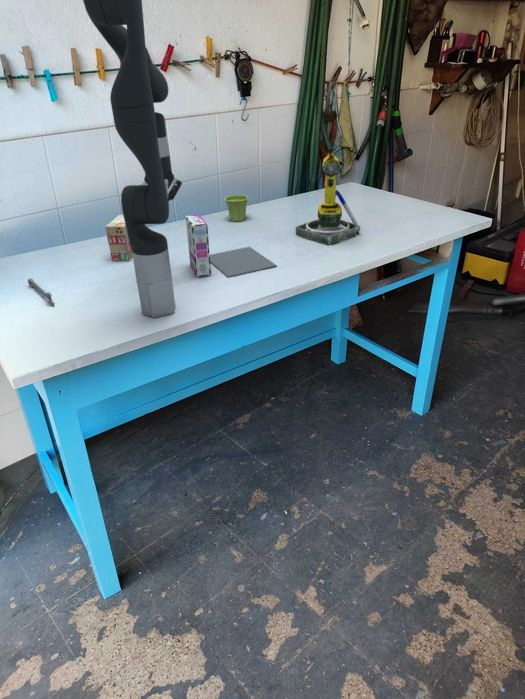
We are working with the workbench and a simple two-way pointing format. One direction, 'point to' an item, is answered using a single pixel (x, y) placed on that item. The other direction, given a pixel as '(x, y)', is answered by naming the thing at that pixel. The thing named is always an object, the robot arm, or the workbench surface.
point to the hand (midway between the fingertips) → (164, 215)
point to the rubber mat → (240, 262)
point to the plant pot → (237, 207)
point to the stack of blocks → (119, 240)
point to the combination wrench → (40, 290)
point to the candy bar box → (198, 245)
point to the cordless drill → (330, 210)
